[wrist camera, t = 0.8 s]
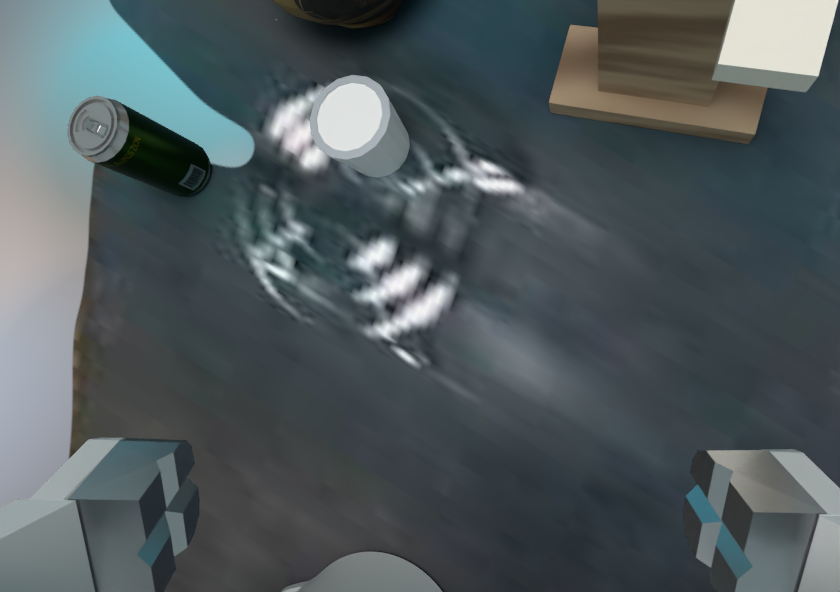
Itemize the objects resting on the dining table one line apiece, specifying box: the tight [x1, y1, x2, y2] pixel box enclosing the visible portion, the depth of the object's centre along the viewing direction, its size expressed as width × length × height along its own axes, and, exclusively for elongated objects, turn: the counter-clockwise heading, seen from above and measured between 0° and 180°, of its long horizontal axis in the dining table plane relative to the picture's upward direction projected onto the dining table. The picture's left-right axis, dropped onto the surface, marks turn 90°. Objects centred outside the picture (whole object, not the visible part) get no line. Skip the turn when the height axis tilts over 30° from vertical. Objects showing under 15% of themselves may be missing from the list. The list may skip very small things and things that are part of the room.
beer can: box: [68, 96, 211, 196], centre depth 53 cm, size 5×5×12 cm
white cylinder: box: [310, 75, 410, 178], centre depth 50 cm, size 7×7×7 cm
